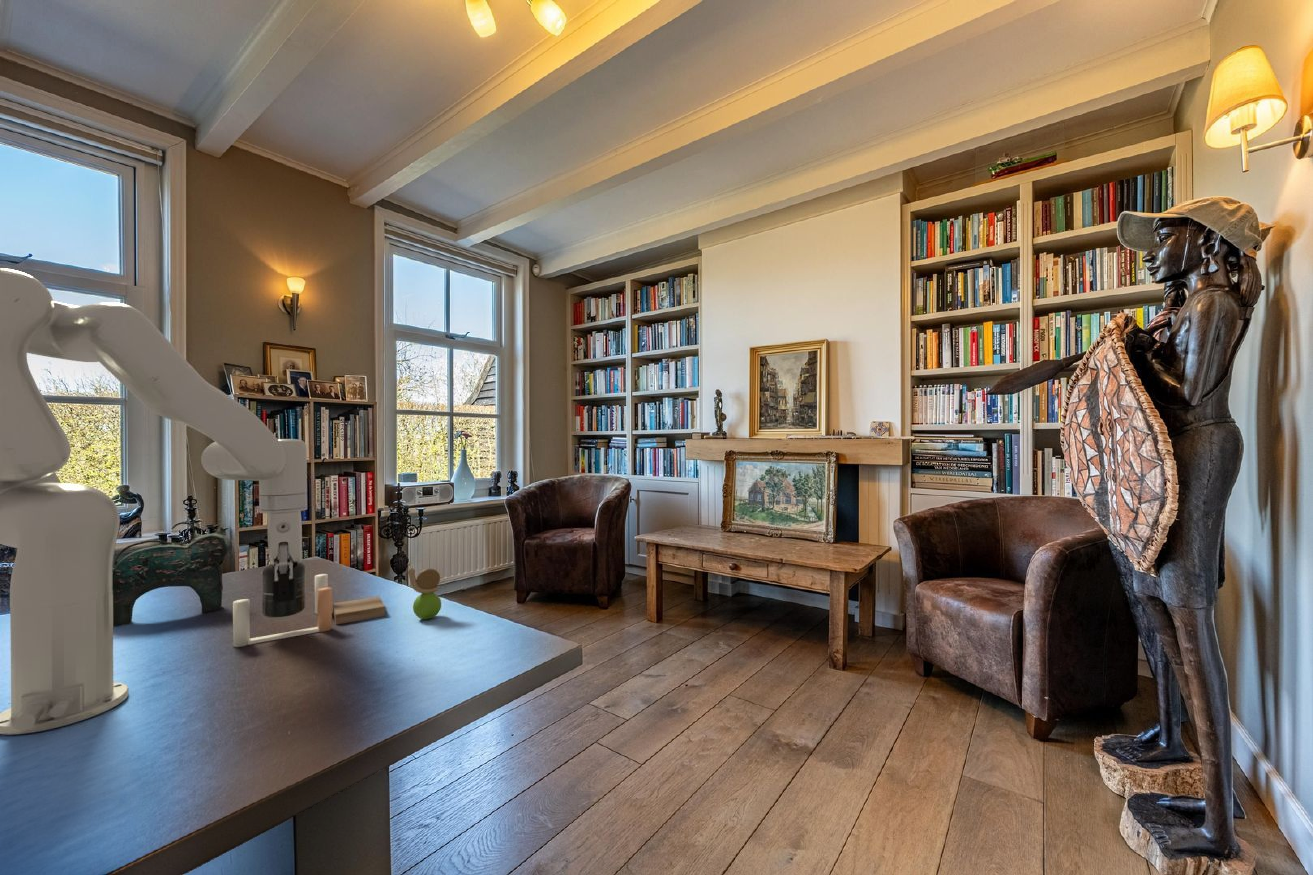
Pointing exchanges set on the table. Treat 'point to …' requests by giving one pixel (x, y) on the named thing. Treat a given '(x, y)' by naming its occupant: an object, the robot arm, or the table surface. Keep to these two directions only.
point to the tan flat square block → (358, 610)
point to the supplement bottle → (285, 607)
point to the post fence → (324, 624)
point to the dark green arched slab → (170, 571)
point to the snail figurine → (425, 592)
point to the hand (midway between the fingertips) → (284, 595)
